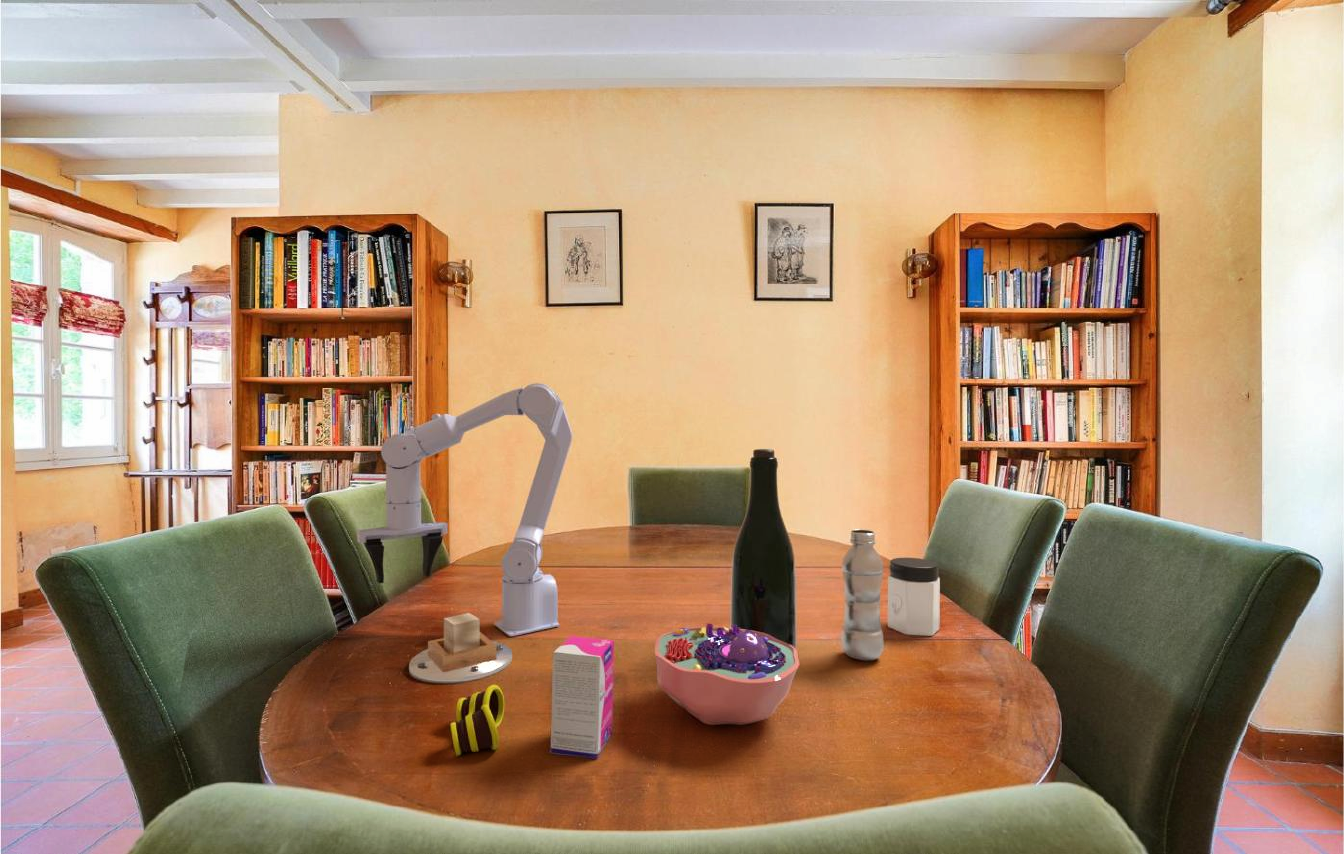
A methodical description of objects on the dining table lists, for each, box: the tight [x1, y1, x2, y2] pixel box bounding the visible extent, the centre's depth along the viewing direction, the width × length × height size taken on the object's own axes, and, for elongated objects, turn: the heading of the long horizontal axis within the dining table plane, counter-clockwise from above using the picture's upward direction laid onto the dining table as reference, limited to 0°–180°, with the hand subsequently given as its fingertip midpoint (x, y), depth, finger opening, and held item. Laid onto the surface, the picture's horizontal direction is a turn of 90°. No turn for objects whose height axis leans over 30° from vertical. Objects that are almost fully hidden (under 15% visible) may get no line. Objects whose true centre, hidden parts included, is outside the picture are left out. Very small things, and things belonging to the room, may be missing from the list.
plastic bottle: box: [840, 529, 885, 661], centre depth 96 cm, size 6×7×20 cm
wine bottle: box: [729, 448, 797, 650], centre depth 97 cm, size 10×10×33 cm
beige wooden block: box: [443, 612, 481, 654], centre depth 94 cm, size 4×4×6 cm
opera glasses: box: [450, 684, 505, 757], centre depth 72 cm, size 10×5×5 cm, turn 11°
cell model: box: [654, 622, 800, 726], centre depth 78 cm, size 17×20×11 cm
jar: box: [887, 557, 941, 637], centre depth 110 cm, size 9×8×12 cm
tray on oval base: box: [408, 631, 513, 685], centre depth 94 cm, size 15×15×3 cm
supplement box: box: [549, 635, 615, 759], centre depth 70 cm, size 6×6×12 cm
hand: (403, 578), depth 108 cm, fingers open, 7 cm apart
